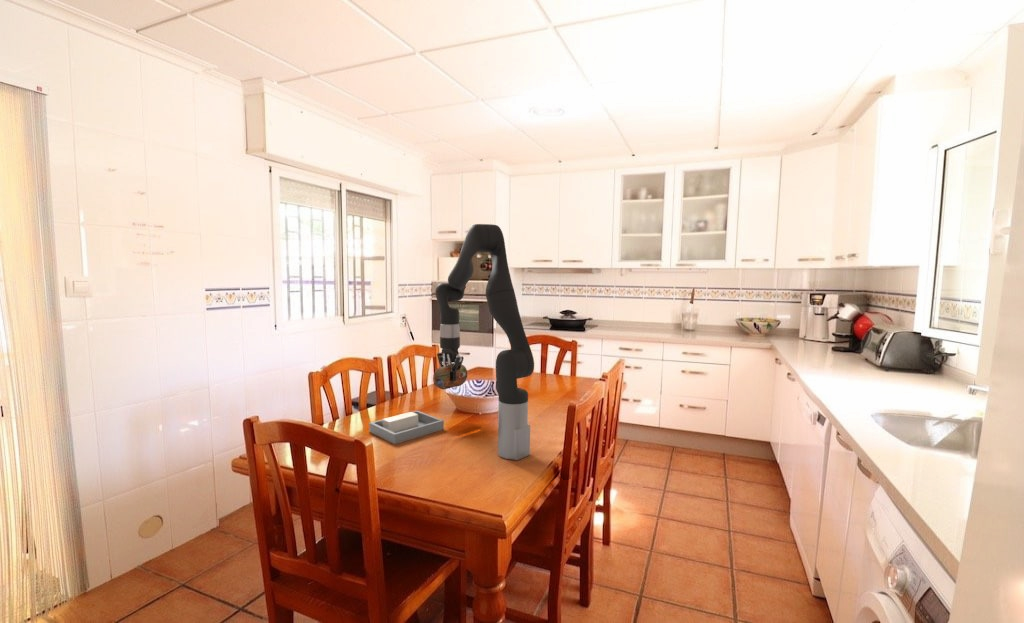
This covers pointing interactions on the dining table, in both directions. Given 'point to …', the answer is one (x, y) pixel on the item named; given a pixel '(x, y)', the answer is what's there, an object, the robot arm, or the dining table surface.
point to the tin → (443, 377)
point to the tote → (408, 429)
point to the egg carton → (400, 421)
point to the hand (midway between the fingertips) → (450, 380)
